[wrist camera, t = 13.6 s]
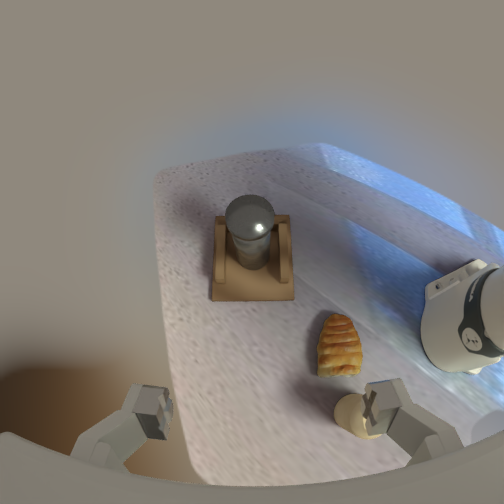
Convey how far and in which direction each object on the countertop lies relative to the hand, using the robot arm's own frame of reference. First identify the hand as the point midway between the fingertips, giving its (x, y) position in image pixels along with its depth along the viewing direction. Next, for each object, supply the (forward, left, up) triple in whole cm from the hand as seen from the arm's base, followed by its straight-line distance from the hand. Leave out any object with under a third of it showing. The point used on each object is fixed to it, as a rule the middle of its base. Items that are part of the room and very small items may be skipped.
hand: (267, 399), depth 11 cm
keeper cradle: (-8, -17, -31) cm, 37 cm away
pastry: (-11, +1, -32) cm, 34 cm away
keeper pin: (-8, -17, -31) cm, 36 cm away
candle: (-9, +11, -32) cm, 34 cm away
